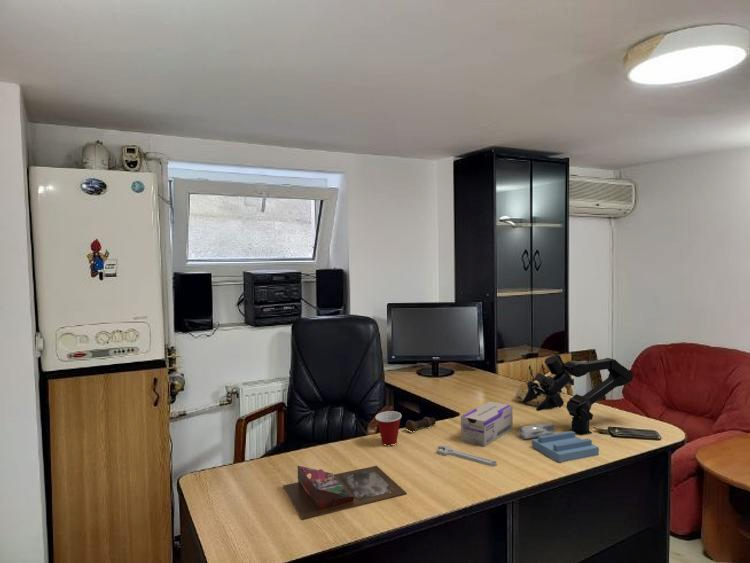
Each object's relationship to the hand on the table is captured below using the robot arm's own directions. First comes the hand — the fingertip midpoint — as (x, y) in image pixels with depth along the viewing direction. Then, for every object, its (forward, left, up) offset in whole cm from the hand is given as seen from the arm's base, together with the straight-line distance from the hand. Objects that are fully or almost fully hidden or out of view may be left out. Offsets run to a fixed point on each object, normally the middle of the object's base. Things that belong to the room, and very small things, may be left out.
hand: (529, 406), depth 205 cm
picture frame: (+84, +14, -15) cm, 86 cm away
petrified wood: (-33, -38, -14) cm, 52 cm away
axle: (-5, -2, -14) cm, 15 cm away
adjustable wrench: (+34, +6, -14) cm, 38 cm away
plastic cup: (+55, -18, -14) cm, 60 cm away
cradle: (-5, +15, -14) cm, 21 cm away
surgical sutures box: (+14, -11, -14) cm, 22 cm away
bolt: (+36, -29, -14) cm, 48 cm away
